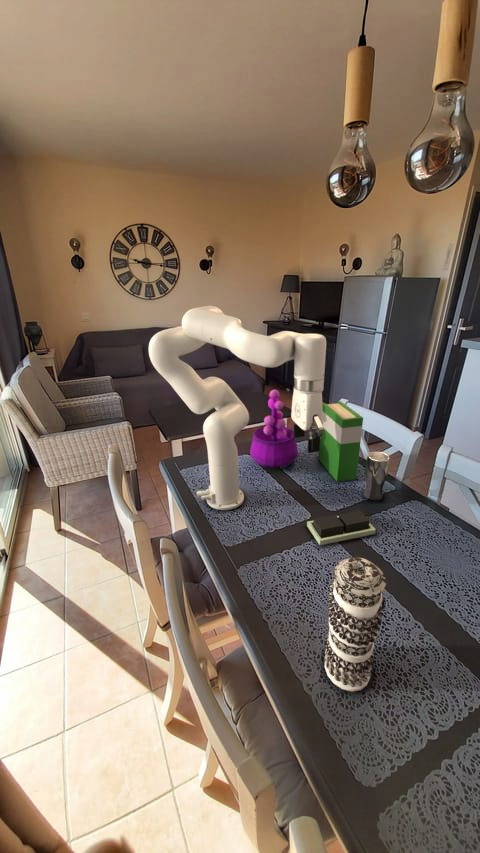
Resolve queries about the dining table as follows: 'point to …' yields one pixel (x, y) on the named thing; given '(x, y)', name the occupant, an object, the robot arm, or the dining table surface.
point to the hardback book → (340, 440)
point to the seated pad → (354, 521)
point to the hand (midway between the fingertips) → (305, 443)
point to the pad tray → (341, 537)
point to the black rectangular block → (328, 526)
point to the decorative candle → (353, 622)
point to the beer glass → (376, 474)
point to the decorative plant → (274, 438)
